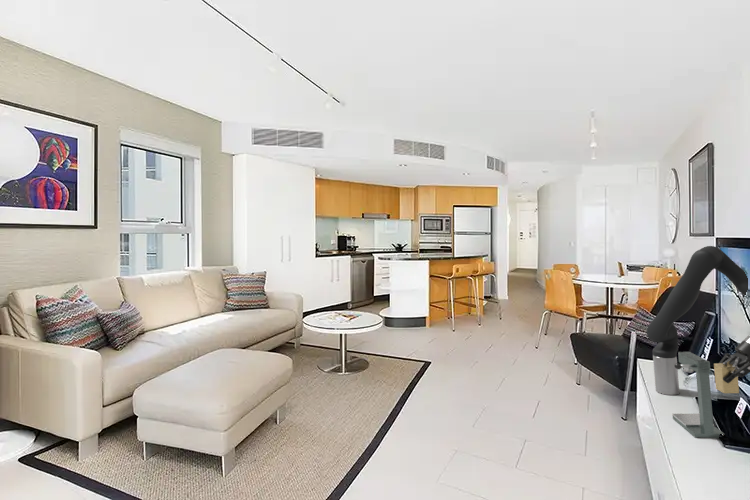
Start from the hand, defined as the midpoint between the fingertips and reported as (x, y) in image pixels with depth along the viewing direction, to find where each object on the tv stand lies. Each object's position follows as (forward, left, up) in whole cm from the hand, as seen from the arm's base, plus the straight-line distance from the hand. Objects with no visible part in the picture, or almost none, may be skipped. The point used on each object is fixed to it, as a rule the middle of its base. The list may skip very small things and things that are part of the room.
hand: (720, 378), depth 158 cm
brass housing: (0, +2, -5) cm, 5 cm away
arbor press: (+3, -13, -18) cm, 22 cm away
